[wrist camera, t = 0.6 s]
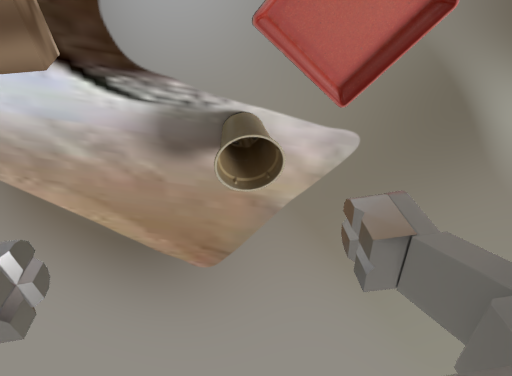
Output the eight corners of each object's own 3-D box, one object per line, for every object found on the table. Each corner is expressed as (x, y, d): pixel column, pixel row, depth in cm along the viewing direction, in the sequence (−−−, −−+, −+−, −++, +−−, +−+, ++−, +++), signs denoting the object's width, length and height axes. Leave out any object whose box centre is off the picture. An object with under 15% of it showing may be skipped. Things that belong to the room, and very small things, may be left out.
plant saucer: (335, 100, 48) (343, 111, 46) (245, 14, 38) (248, 22, 36) (446, -5, 40) (463, 2, 38) (368, -146, 31) (383, -149, 28)
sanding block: (-51, -48, 31) (-84, -40, 27) (14, -52, 31) (-9, -45, 28) (6, 57, 38) (-14, 75, 34) (60, 53, 38) (46, 70, 34)
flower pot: (268, 156, 53) (279, 191, 46) (210, 155, 51) (213, 192, 45) (277, 103, 46) (291, 135, 40) (212, 100, 45) (215, 134, 38)
